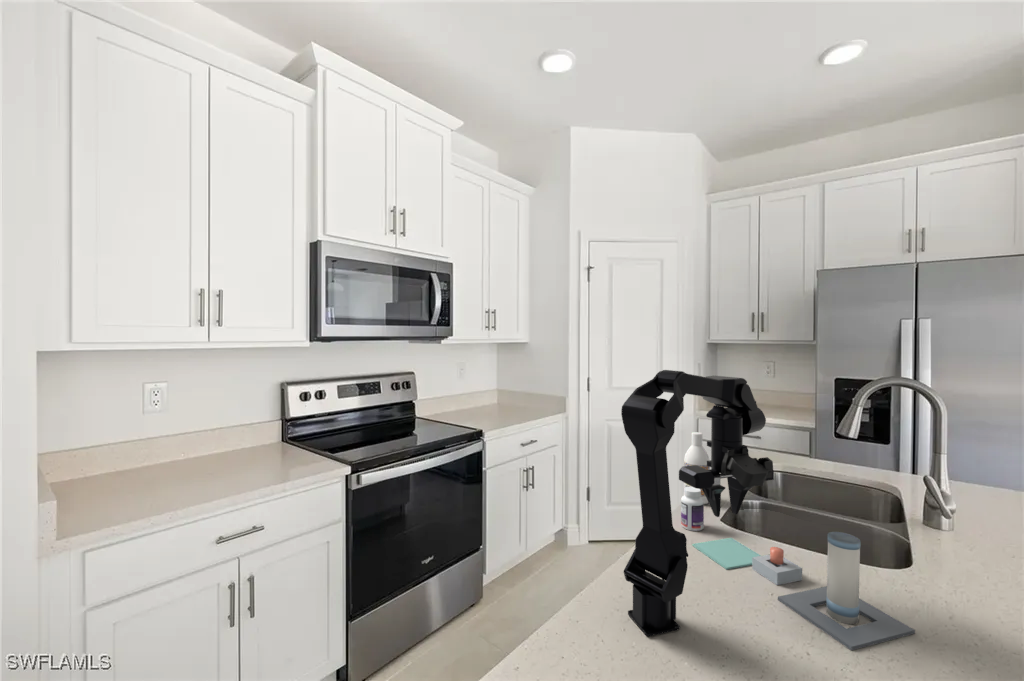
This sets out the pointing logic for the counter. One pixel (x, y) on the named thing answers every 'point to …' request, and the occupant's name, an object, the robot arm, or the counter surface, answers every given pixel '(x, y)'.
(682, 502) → the pill bottle
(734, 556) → the rubber mat
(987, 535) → the counter surface
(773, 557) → the release button
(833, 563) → the cartridge
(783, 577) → the block
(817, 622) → the port plate
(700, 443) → the body lotion
